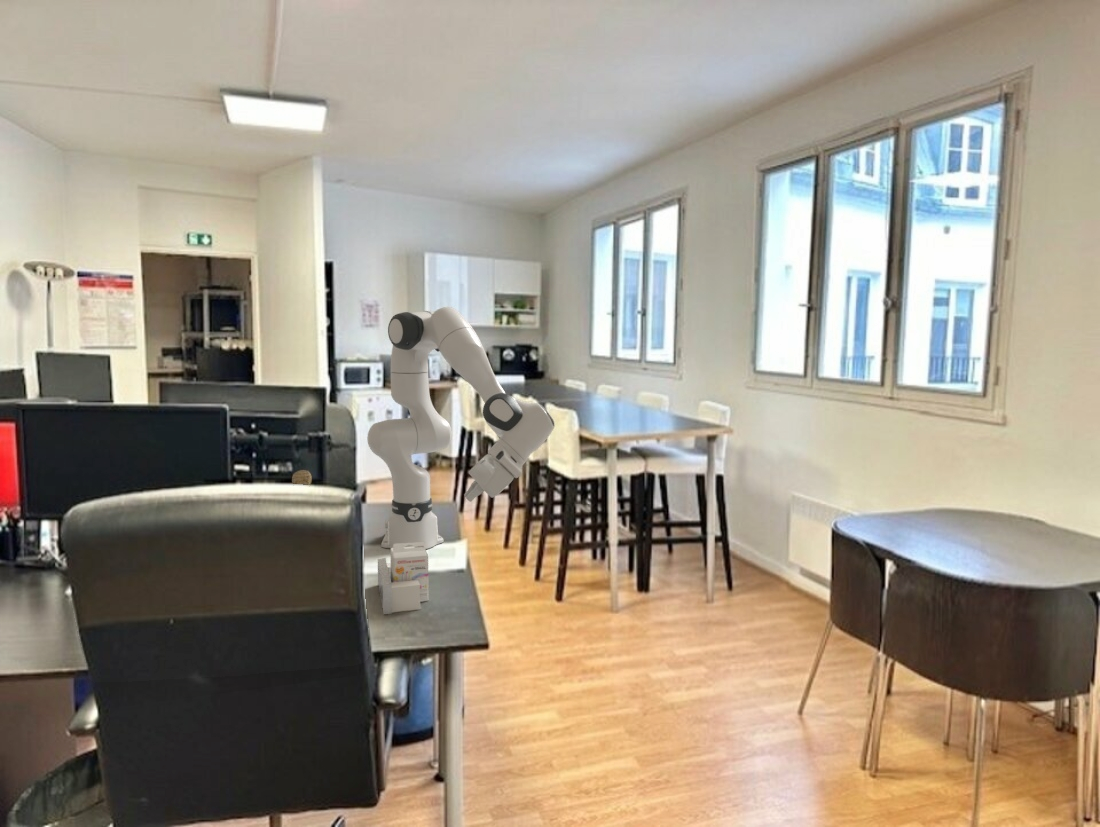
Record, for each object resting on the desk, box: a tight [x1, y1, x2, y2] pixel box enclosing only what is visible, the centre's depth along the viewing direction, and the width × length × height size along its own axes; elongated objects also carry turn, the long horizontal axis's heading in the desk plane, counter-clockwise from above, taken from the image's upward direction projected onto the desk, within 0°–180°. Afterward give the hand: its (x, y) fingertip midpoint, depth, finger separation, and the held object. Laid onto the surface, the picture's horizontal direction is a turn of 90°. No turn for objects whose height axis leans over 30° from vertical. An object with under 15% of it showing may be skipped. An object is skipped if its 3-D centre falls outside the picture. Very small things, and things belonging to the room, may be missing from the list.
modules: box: [386, 562, 421, 613], centre depth 179 cm, size 18×7×6 cm, turn 17°
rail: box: [377, 557, 393, 615], centre depth 178 cm, size 20×2×7 cm, turn 17°
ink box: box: [389, 542, 430, 603], centre depth 179 cm, size 9×8×13 cm
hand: (466, 498), depth 181 cm, fingers closed
